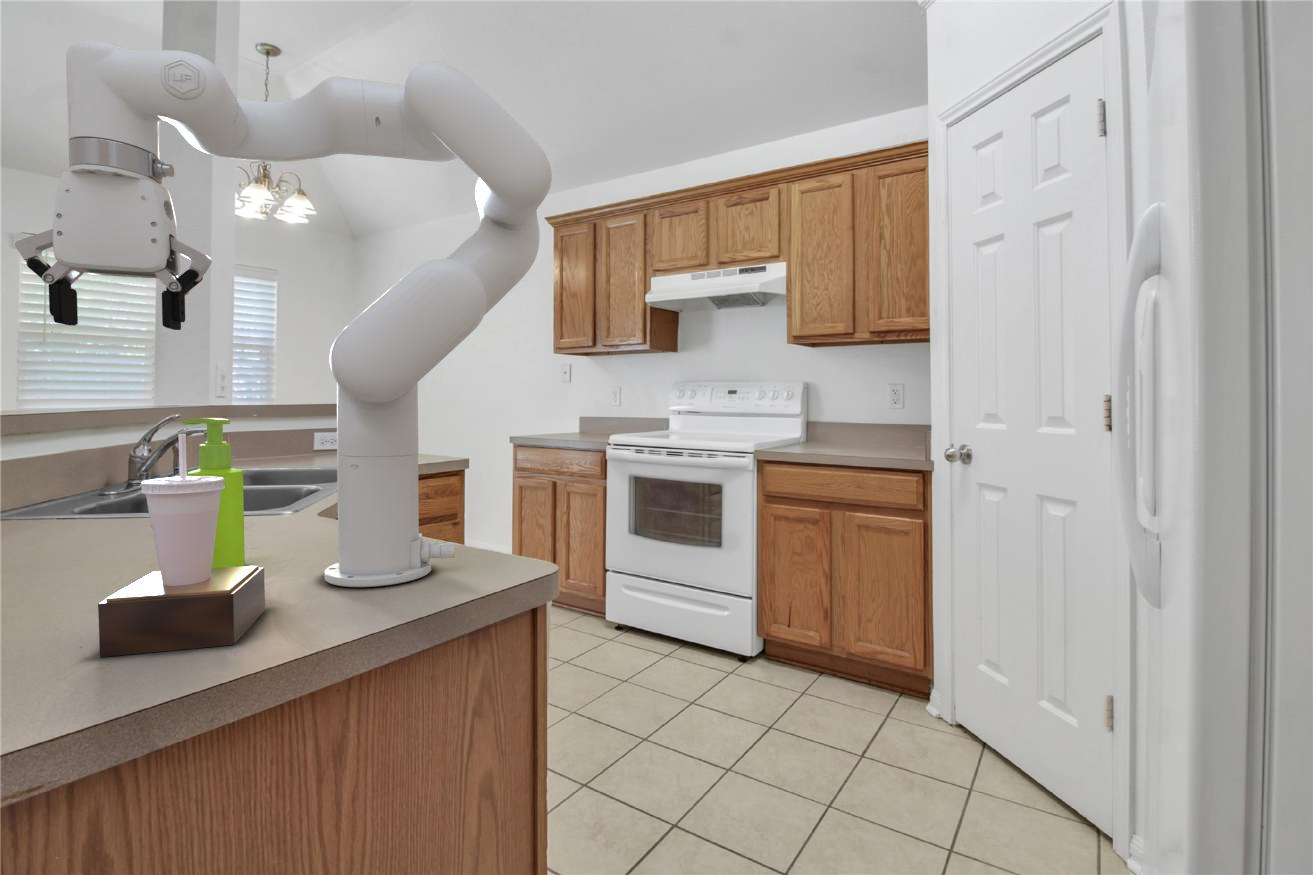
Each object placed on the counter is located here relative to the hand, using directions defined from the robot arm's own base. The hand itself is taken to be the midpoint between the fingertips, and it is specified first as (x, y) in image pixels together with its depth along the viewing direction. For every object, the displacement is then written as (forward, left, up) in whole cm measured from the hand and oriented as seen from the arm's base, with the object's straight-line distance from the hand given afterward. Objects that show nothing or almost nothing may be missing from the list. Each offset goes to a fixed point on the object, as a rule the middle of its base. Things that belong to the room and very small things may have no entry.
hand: (120, 326), depth 70 cm
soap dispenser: (-5, -10, -31) cm, 33 cm away
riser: (-11, +15, -30) cm, 36 cm away
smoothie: (-11, +15, -26) cm, 31 cm away
